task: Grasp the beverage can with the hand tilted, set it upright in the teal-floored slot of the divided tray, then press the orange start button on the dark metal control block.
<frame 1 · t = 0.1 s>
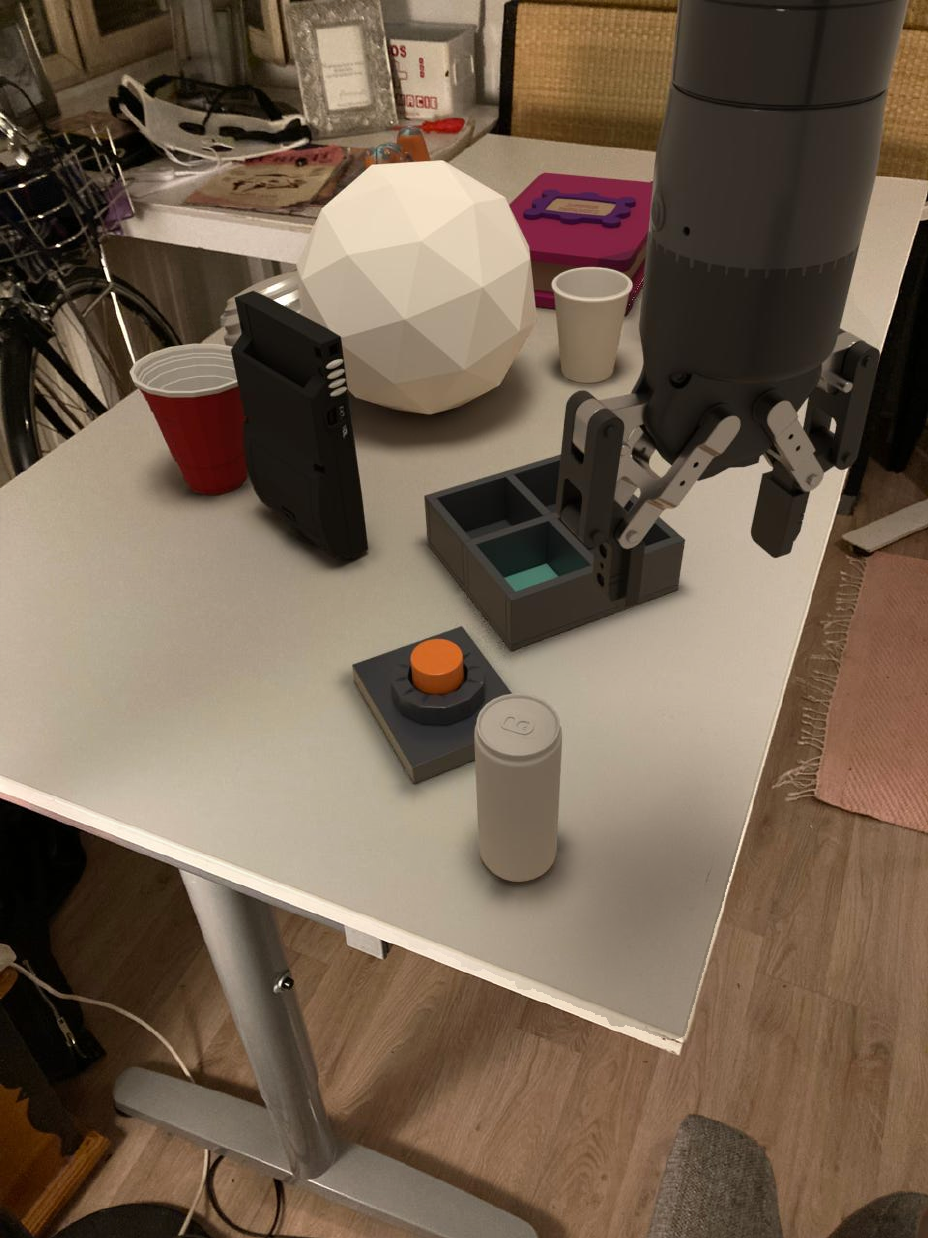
hand: (696, 572, 46), 22 cm above the table, tool pointing down, fingers open, 8 cm apart
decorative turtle: (767, 274, 126), on the table
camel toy: (412, 262, 133), on the table
lamp: (379, 393, 106), on the table
book: (574, 266, 130), on the table
dixie cup: (586, 372, 108), on the table
divided tray: (548, 566, 82), on the table
start button: (437, 666, 67), point 4 cm above the table, slide at 0.1 cm
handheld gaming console: (313, 535, 87), on the table
mug: (698, 423, 99), on the table
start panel: (440, 707, 70), on the table
plastic cup: (219, 479, 94), on the table
vase: (703, 344, 112), on the table
beverage can: (517, 855, 61), on the table
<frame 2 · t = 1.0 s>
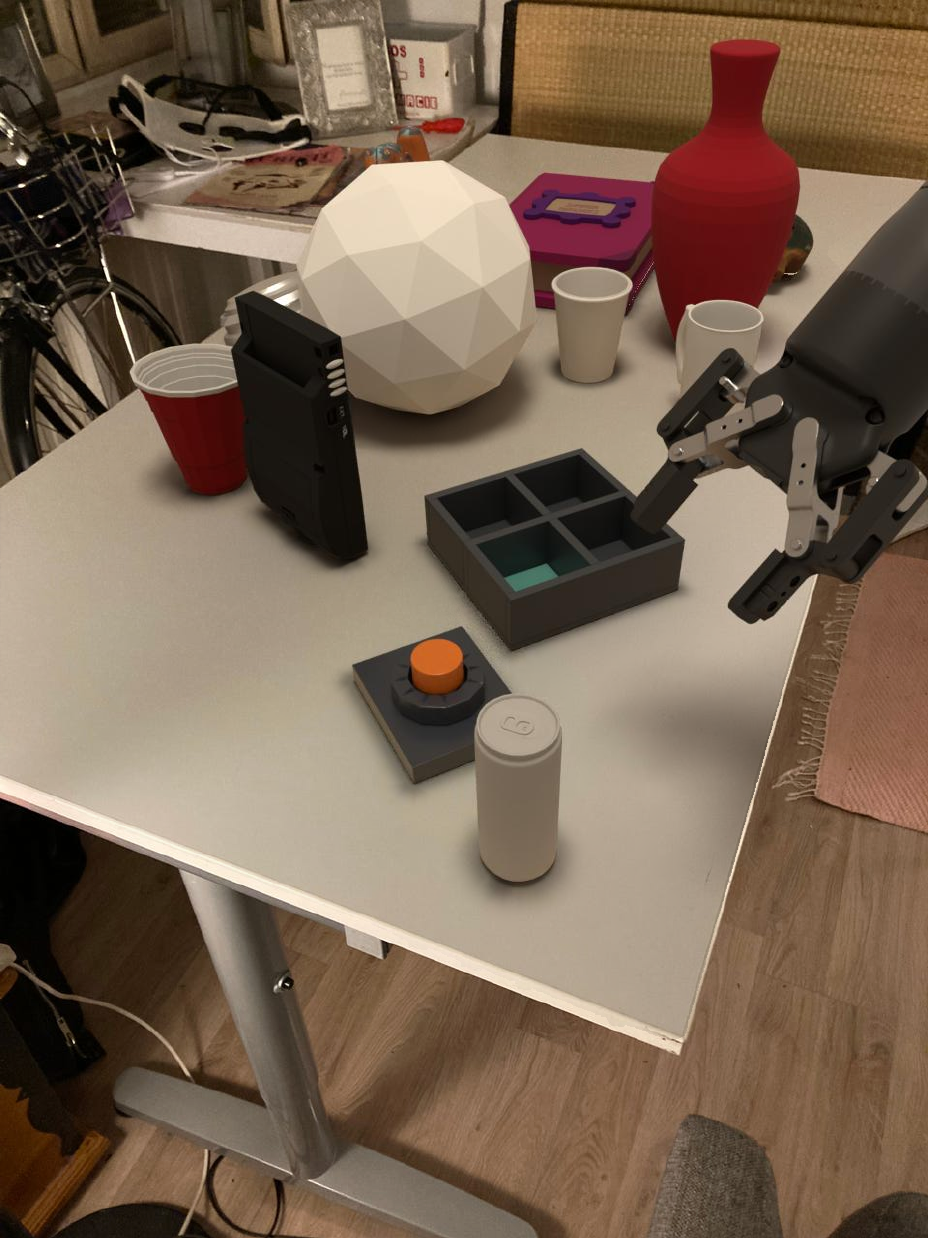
hand: (687, 569, 52), 19 cm above the table, tool tilted 45°, fingers open, 8 cm apart
nothing on the table moved.
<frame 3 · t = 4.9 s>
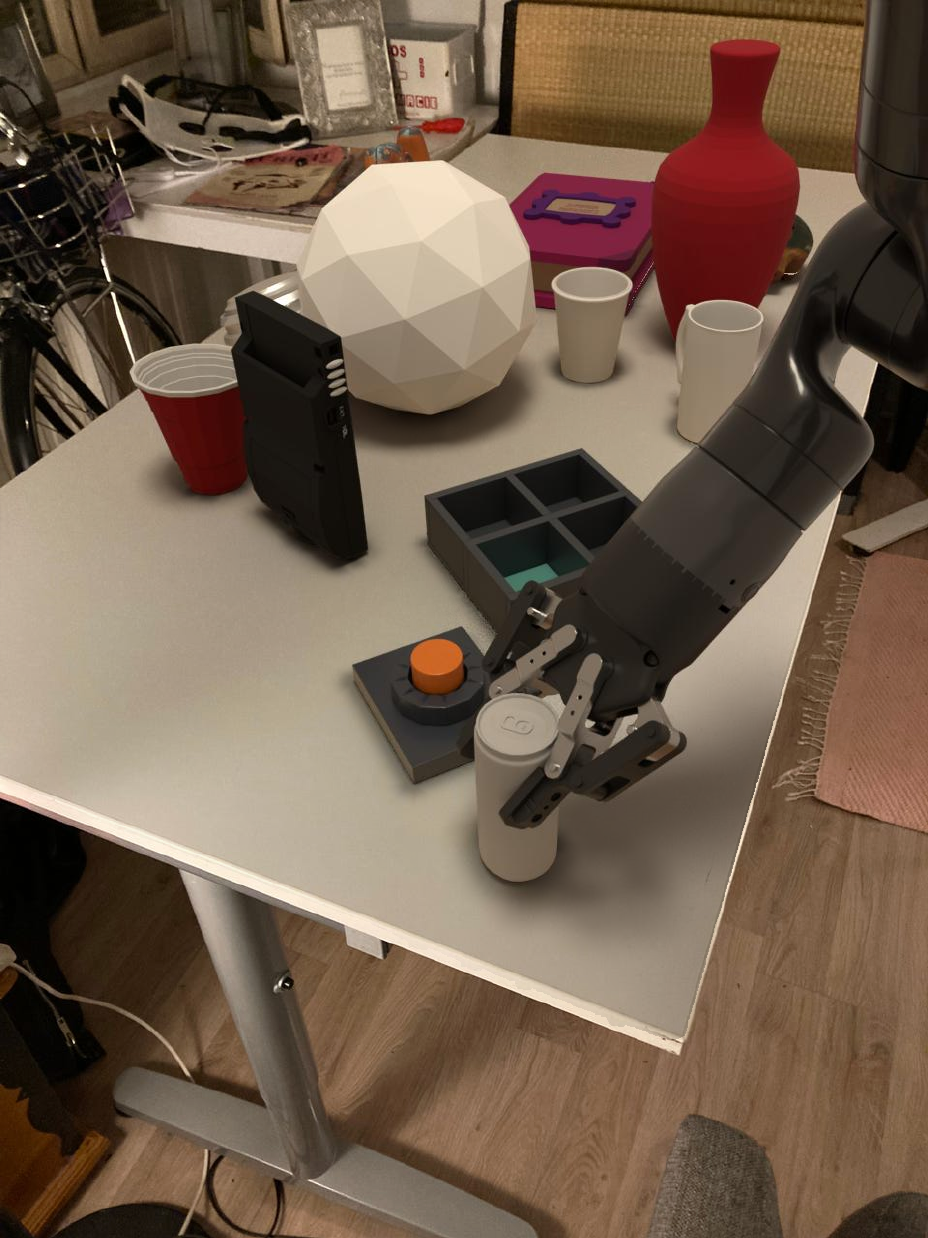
hand: (489, 787, 55), 8 cm above the table, tool tilted 45°, fingers closed on beverage can, 5 cm apart
beverage can: (517, 855, 61), on the table, touching gripper
everything else where it was.
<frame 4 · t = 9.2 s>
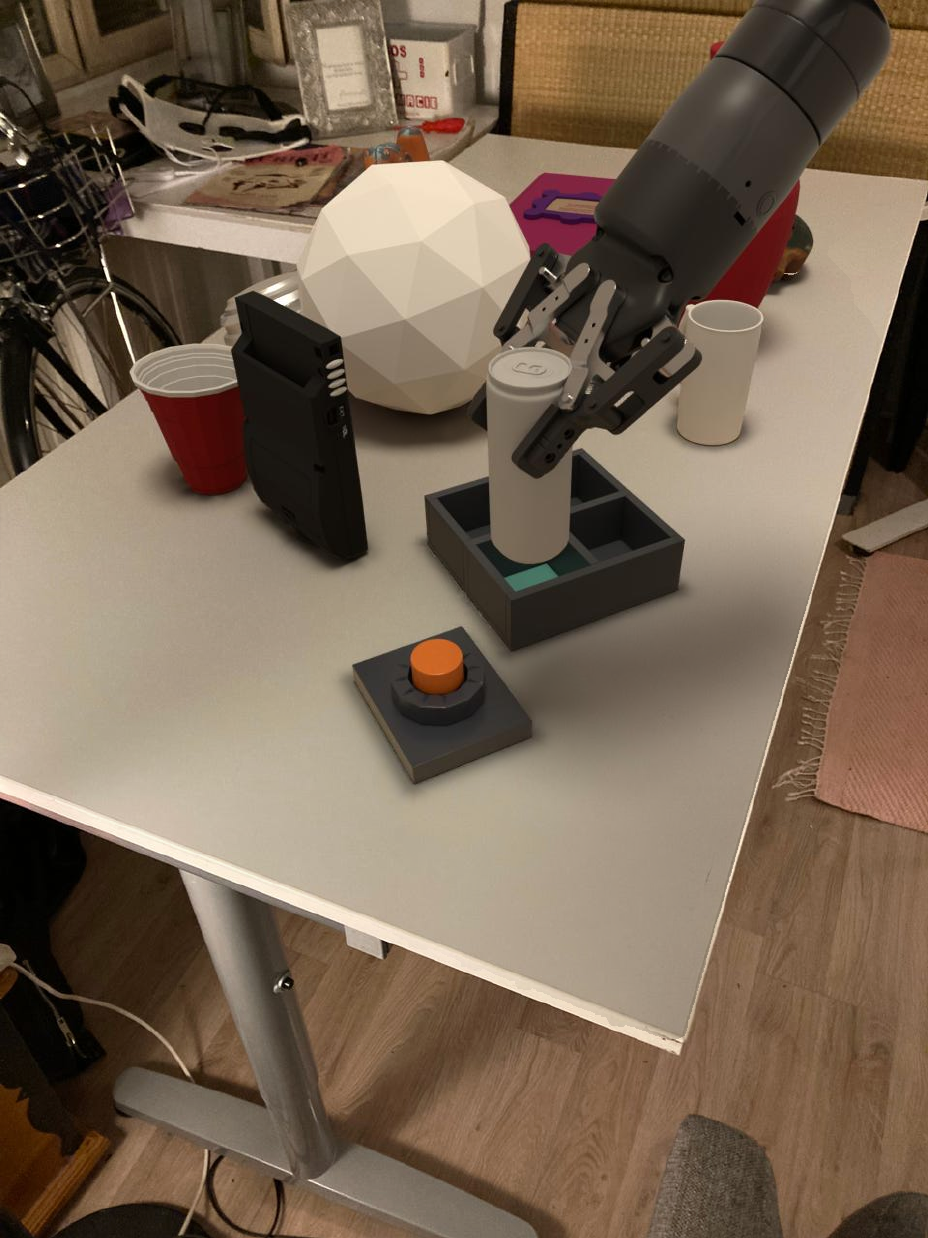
hand: (501, 445, 55), 22 cm above the table, tool tilted 45°, fingers closed on beverage can, 5 cm apart
beverage can: (529, 546, 60), point 14 cm above the table, touching gripper
everything else where it was.
when the fingers open (8 cm above the table, at t = 13.9 s): beverage can stays where it is, resting on divided tray.
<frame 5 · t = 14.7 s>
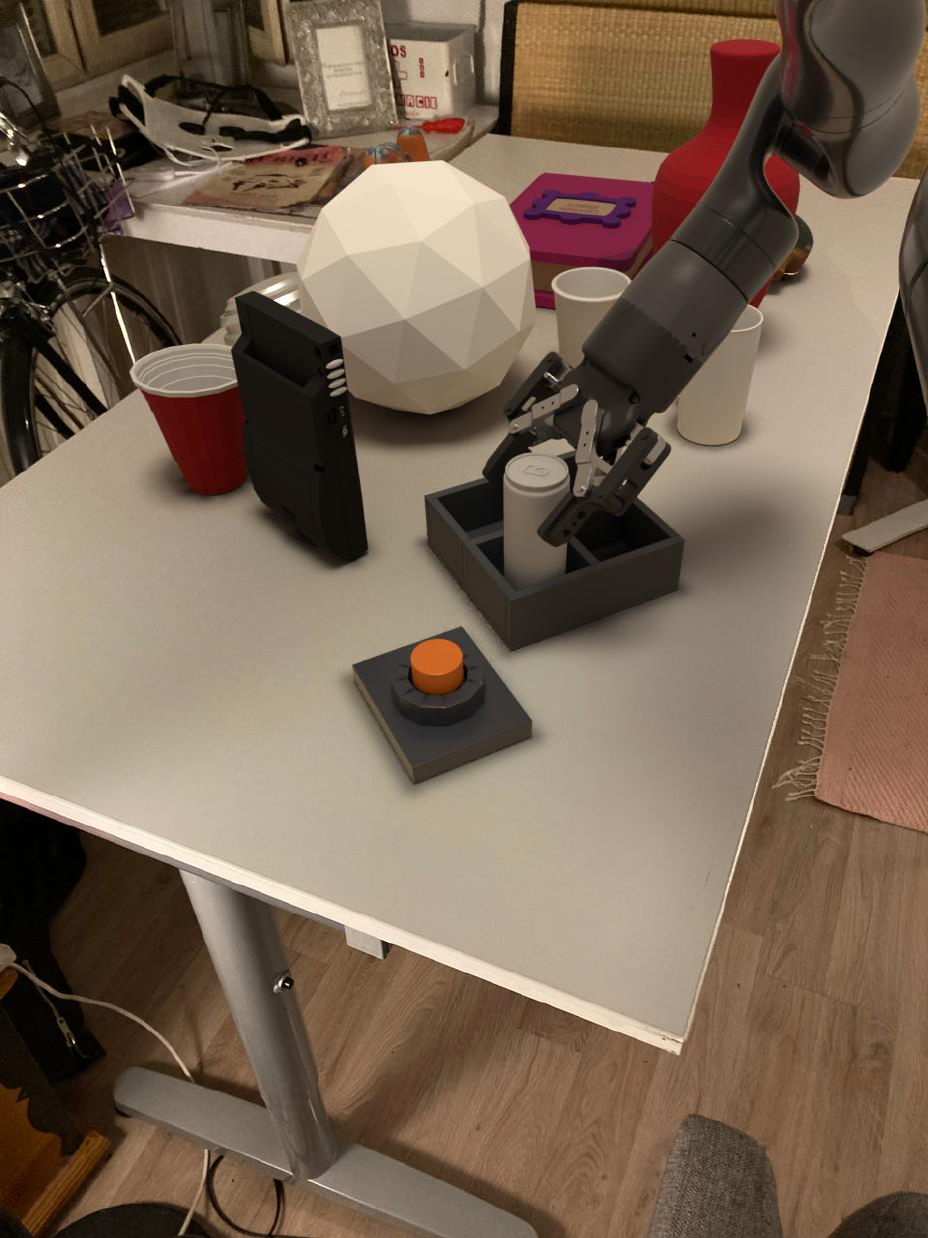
hand: (517, 510, 71), 10 cm above the table, tool tilted 45°, fingers open, 8 cm apart
beverage can: (534, 598, 78), point 1 cm above the table, touching divided tray
everything else where it was.
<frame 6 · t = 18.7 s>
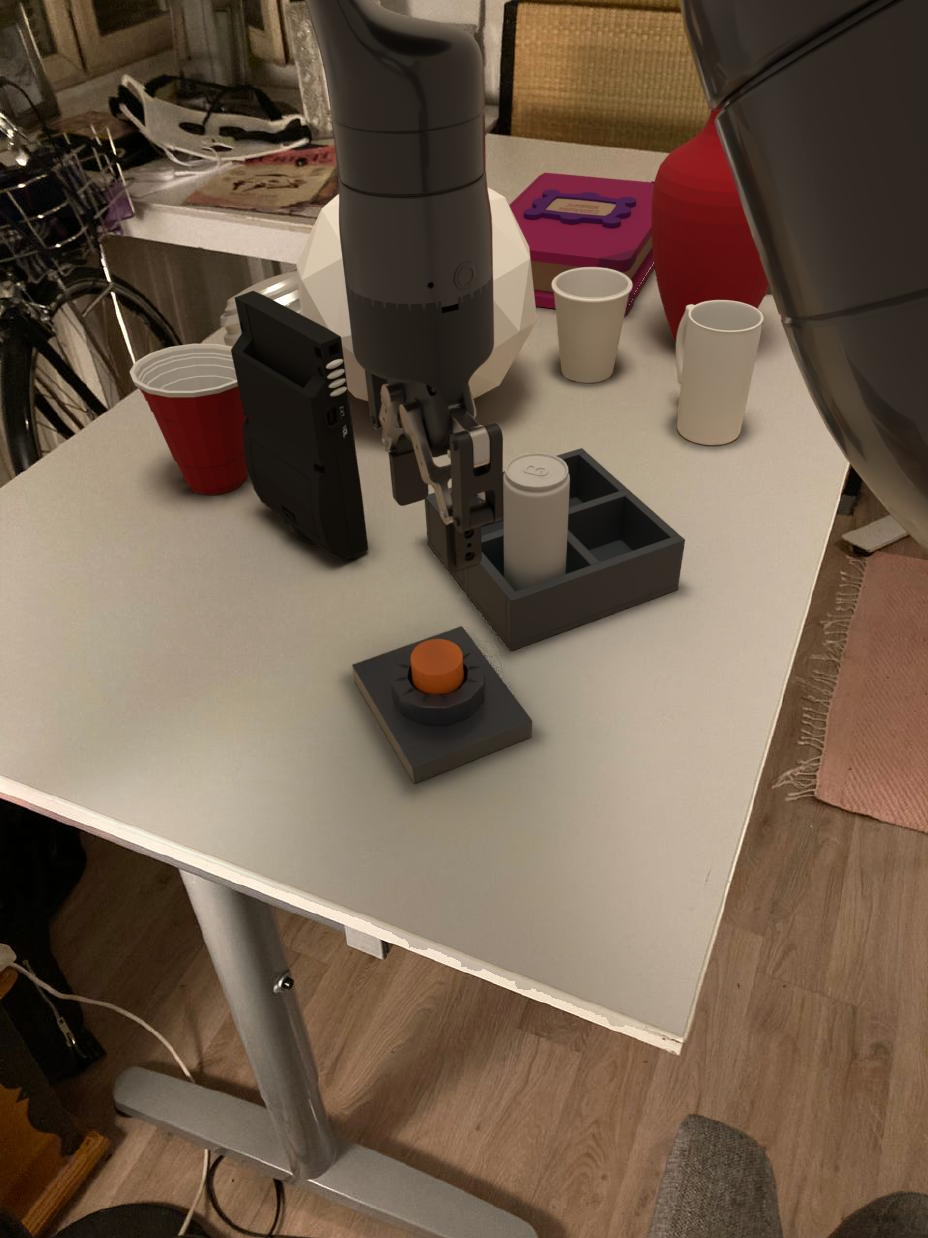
hand: (436, 531, 60), 16 cm above the table, tool pointing down, fingers open, 7 cm apart
nothing on the table moved.
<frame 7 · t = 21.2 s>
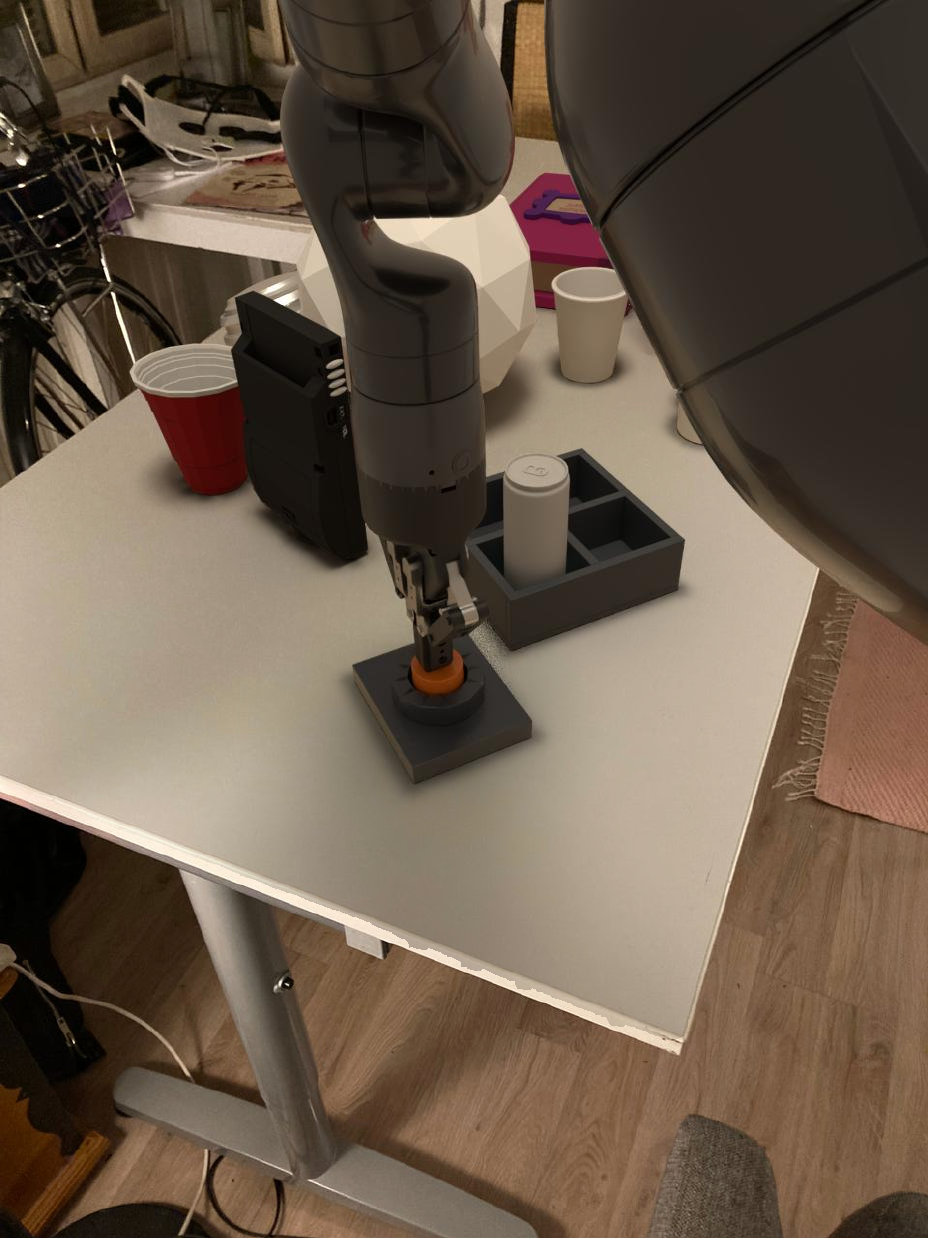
hand: (434, 662, 67), 5 cm above the table, tool pointing down, fingers closed
start button: (437, 673, 68), point 3 cm above the table, slide at -0.5 cm, touching gripper
everything else where it was.
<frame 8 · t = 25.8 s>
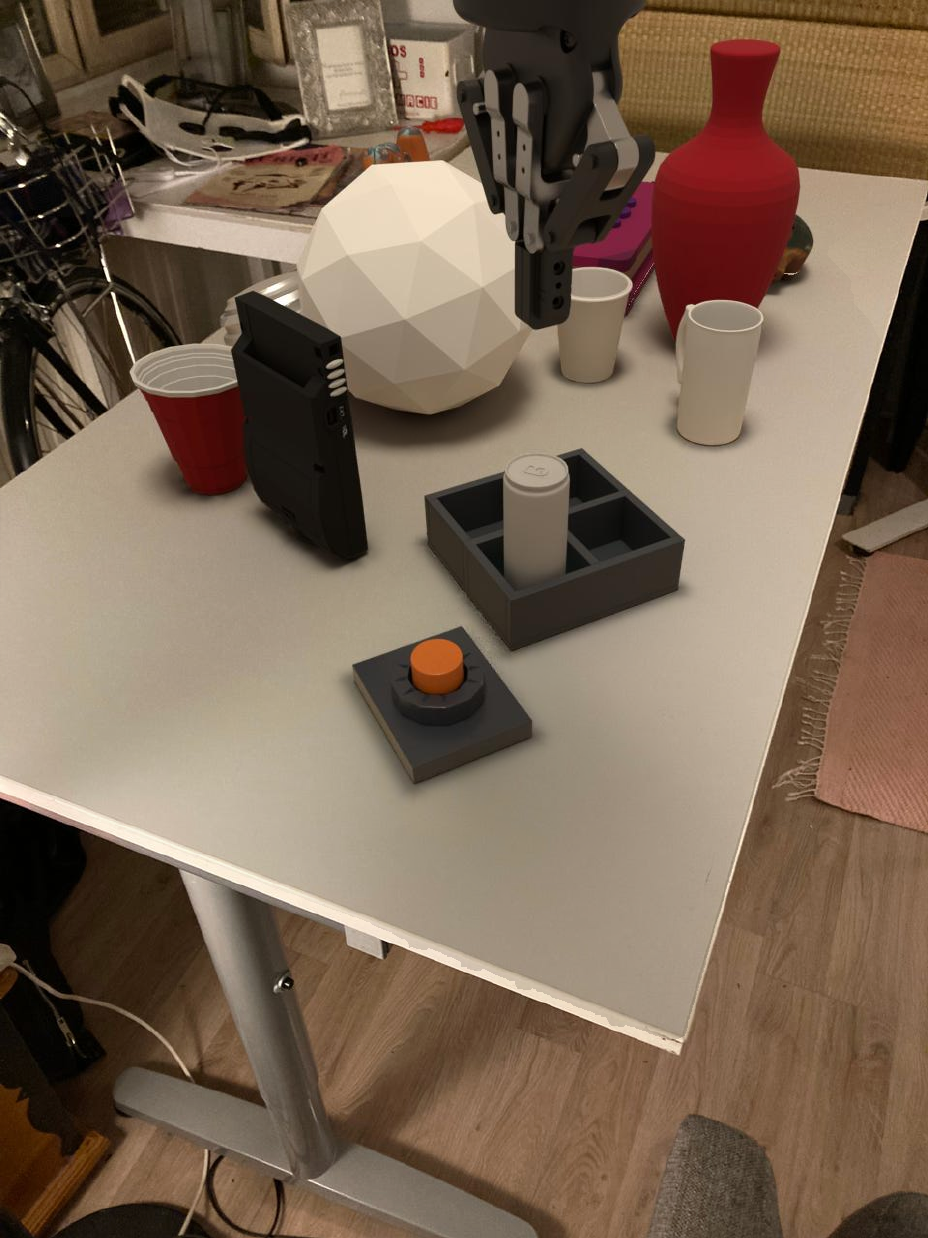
hand: (542, 320, 46), 31 cm above the table, tool pointing down, fingers closed
start button: (437, 666, 67), point 4 cm above the table, slide at 0.1 cm
everything else where it was.
at the end: beverage can 0.2 cm from the target spot in the divided tray, point 0.6 cm above the divided tray's base; start button pushed in 1.1 cm at the most during the clip, back to where it started at the end; start button slide at 0.1 cm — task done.
